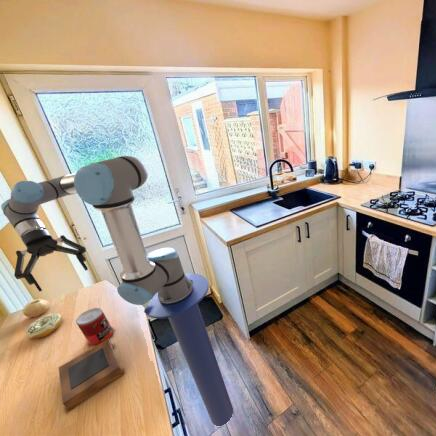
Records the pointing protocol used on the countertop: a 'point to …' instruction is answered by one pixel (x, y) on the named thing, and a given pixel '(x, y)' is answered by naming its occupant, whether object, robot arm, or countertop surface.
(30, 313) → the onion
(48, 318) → the decorated donut
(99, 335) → the canned food
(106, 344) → the wooden picture frame
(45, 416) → the countertop surface
